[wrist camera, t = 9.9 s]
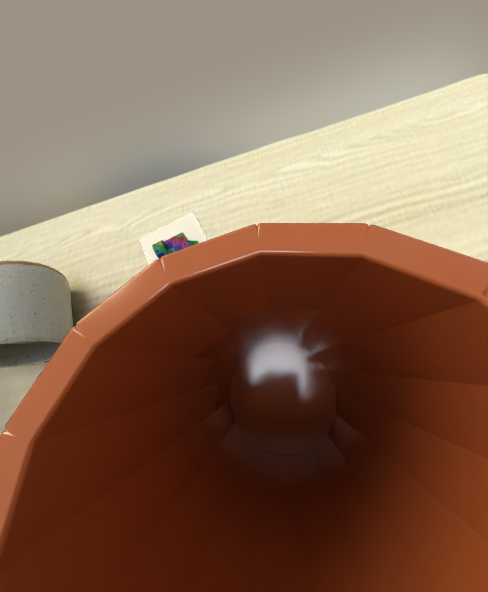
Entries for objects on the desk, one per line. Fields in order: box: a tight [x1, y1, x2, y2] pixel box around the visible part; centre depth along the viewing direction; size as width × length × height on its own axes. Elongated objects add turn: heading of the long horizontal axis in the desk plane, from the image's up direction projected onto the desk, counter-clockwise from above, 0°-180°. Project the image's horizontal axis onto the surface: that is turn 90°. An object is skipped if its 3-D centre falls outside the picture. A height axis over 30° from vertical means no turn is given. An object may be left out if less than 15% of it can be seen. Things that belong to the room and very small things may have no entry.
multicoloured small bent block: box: [139, 212, 207, 265], centre depth 24 cm, size 7×8×2 cm
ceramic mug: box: [0, 261, 73, 368], centre depth 21 cm, size 11×8×8 cm
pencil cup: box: [0, 223, 488, 592], centre depth 8 cm, size 7×7×12 cm
